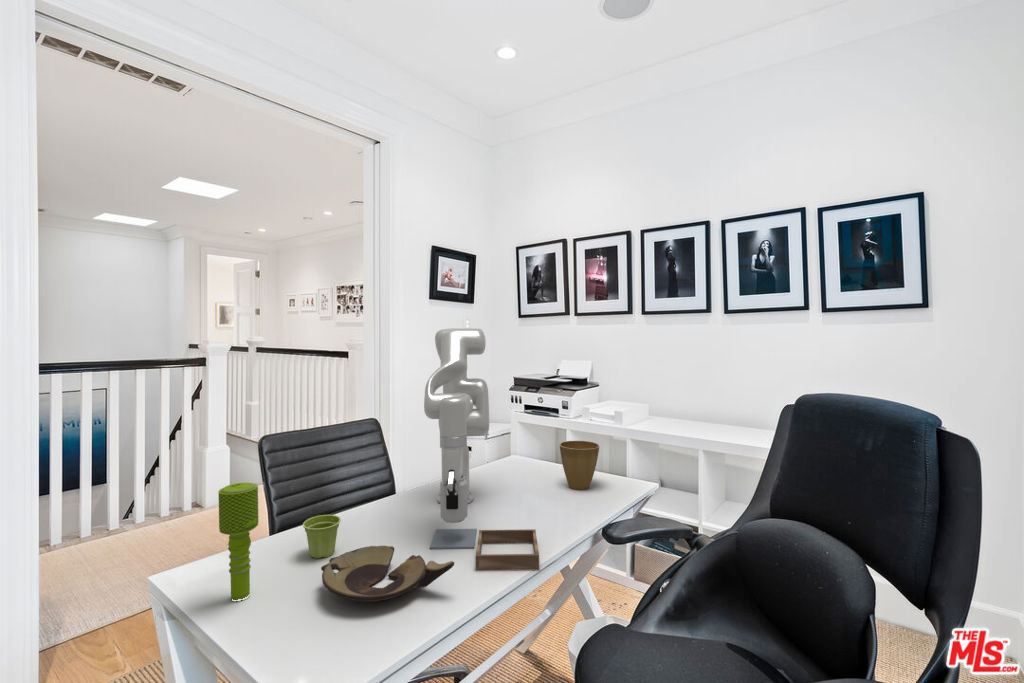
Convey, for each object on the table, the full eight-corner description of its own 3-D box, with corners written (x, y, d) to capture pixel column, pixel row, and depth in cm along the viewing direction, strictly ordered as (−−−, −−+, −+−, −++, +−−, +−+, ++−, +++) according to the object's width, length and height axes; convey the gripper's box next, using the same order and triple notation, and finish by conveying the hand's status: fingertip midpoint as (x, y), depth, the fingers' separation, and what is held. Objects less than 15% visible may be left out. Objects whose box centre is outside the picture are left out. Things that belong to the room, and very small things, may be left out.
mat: (436, 530, 143) (436, 529, 143) (476, 530, 143) (476, 528, 143) (429, 549, 131) (429, 547, 131) (474, 548, 131) (474, 546, 131)
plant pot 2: (602, 493, 175) (602, 449, 175) (561, 493, 175) (561, 449, 175) (596, 480, 190) (596, 439, 190) (557, 480, 190) (557, 439, 190)
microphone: (212, 603, 106) (209, 489, 105) (242, 585, 113) (240, 478, 112) (239, 610, 103) (237, 493, 102) (269, 592, 110) (267, 482, 109)
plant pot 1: (348, 548, 132) (348, 517, 132) (324, 564, 123) (324, 530, 123) (320, 543, 135) (320, 512, 135) (295, 559, 126) (294, 525, 126)
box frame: (479, 542, 135) (479, 529, 135) (535, 541, 135) (535, 529, 135) (475, 570, 119) (475, 556, 119) (539, 569, 120) (539, 555, 120)
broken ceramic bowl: (374, 556, 127) (373, 527, 127) (466, 586, 112) (466, 553, 112) (298, 596, 108) (297, 562, 108) (397, 640, 93) (396, 600, 93)
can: (462, 525, 132) (462, 481, 132) (436, 523, 134) (436, 479, 134) (470, 515, 140) (470, 473, 140) (445, 513, 141) (445, 472, 141)
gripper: (444, 434, 145) (444, 493, 146) (435, 448, 128) (436, 515, 128) (469, 434, 145) (469, 493, 146) (463, 448, 128) (464, 515, 128)
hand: (453, 503), depth 137 cm, fingers closed on can, 7 cm apart
